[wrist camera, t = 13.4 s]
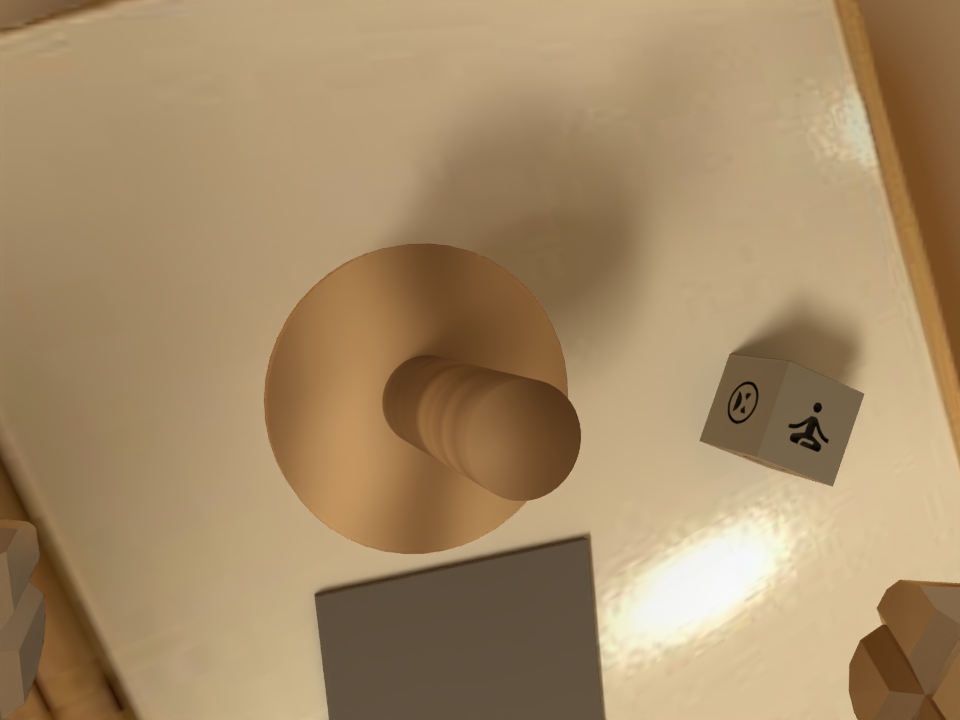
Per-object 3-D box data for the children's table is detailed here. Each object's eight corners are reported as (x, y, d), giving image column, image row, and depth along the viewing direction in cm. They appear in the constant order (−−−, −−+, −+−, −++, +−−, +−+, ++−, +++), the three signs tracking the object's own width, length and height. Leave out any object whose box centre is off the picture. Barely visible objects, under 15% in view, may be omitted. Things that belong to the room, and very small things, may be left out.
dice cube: (698, 440, 49) (756, 456, 44) (729, 354, 49) (790, 361, 45) (769, 468, 51) (832, 486, 46) (798, 384, 51) (864, 393, 46)
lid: (284, 574, 32) (341, 693, 22) (244, 259, 30) (286, 247, 21) (568, 515, 35) (719, 597, 26) (542, 232, 34) (691, 211, 25)
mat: (347, 872, 44) (348, 877, 43) (314, 594, 42) (316, 597, 42) (604, 790, 48) (608, 794, 48) (583, 537, 47) (587, 539, 47)
